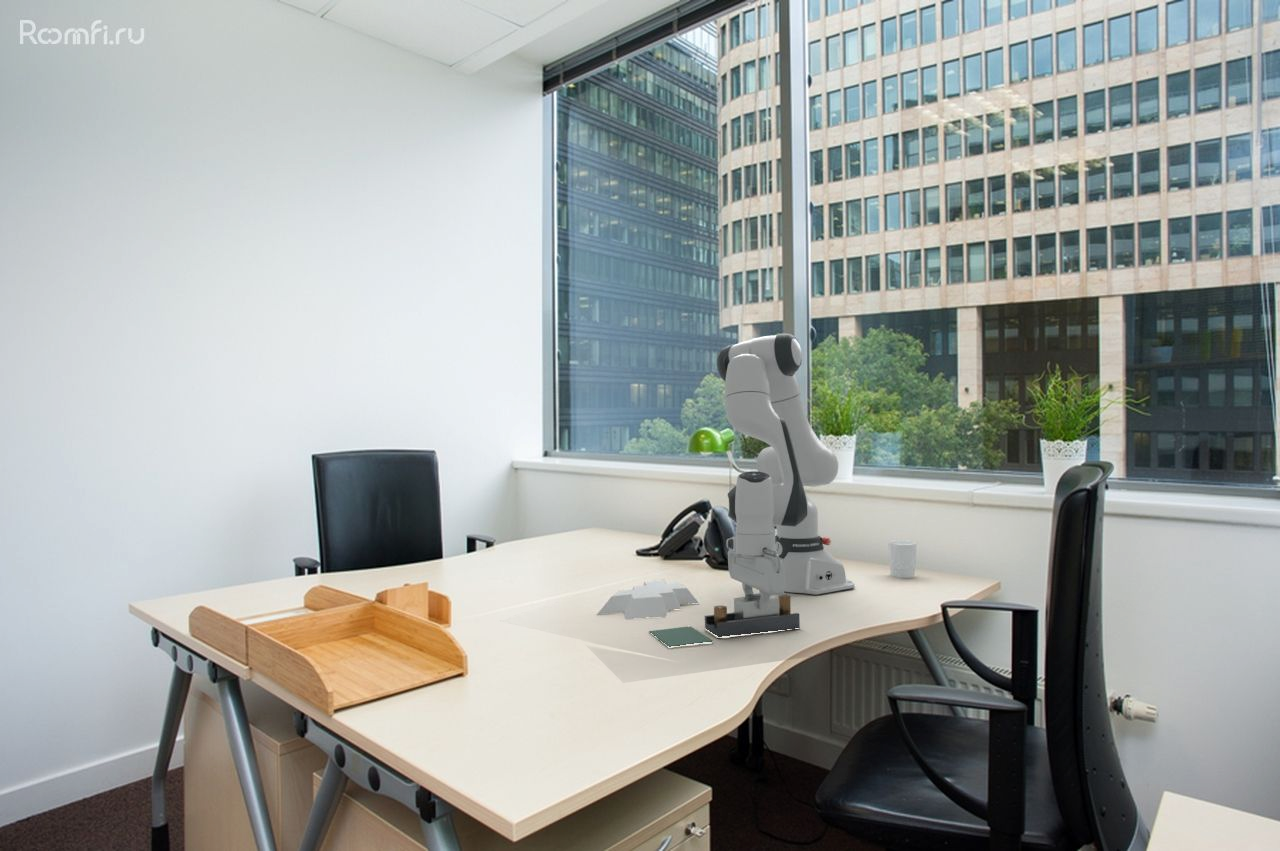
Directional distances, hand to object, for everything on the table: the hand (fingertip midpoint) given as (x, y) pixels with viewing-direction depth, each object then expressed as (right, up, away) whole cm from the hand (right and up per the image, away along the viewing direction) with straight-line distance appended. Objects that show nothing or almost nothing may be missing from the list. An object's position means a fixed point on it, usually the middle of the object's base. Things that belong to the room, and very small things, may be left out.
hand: (756, 606), depth 173 cm
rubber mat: (-17, -6, -6) cm, 19 cm away
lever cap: (0, -3, 0) cm, 3 cm away
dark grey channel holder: (-1, -5, 0) cm, 5 cm away
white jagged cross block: (-23, -6, +21) cm, 32 cm away
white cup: (+51, -4, +53) cm, 74 cm away
